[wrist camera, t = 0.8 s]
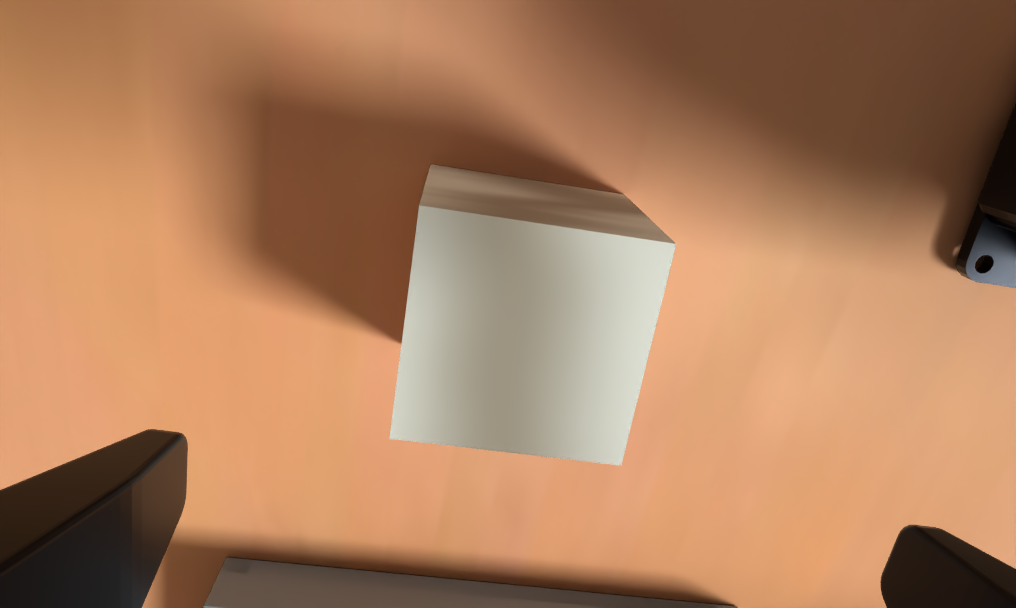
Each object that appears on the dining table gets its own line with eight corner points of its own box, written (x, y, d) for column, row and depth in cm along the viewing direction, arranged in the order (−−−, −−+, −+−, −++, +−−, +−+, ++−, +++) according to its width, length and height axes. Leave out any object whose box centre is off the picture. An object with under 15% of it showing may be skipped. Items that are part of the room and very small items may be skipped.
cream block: (623, 193, 19) (676, 243, 14) (585, 368, 21) (621, 465, 16) (430, 163, 18) (419, 204, 14) (407, 345, 20) (389, 438, 15)
